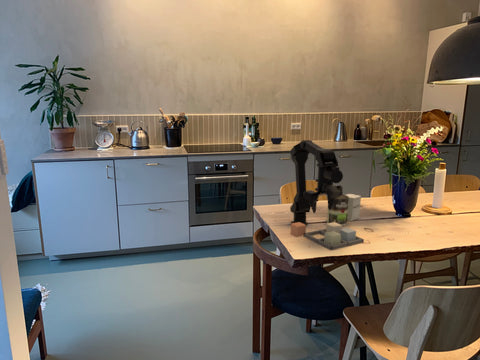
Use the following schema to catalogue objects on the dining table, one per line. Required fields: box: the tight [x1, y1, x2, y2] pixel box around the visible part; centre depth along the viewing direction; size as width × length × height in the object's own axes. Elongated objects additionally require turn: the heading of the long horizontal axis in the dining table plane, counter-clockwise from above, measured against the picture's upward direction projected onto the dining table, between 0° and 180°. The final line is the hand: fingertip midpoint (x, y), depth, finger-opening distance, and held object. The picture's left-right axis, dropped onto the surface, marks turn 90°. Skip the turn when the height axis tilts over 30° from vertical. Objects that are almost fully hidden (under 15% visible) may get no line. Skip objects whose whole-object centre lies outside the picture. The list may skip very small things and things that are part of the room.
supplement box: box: [345, 193, 362, 222], centre depth 206 cm, size 7×7×13 cm
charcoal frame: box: [303, 222, 365, 251], centre depth 177 cm, size 19×19×5 cm
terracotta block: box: [290, 222, 307, 238], centre depth 183 cm, size 5×5×5 cm
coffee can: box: [326, 194, 349, 227], centre depth 199 cm, size 10×10×14 cm
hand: (322, 211), depth 176 cm, fingers open, 9 cm apart
